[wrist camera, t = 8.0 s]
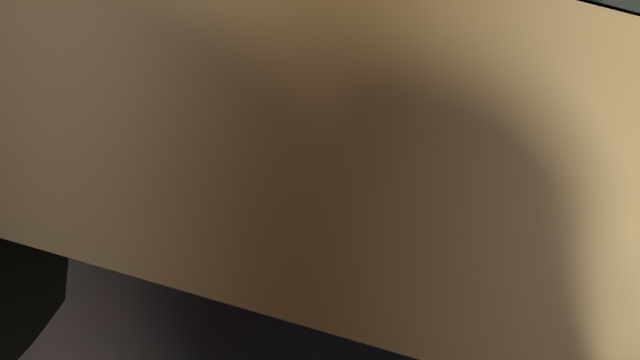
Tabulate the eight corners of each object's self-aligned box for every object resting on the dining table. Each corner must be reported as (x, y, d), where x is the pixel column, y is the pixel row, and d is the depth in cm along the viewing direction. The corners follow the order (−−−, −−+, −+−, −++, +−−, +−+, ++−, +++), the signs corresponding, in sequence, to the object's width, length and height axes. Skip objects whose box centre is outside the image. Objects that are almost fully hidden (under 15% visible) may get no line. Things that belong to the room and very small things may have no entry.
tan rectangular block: (836, 67, 9) (1259, 173, 5) (715, 275, 11) (942, 512, 6) (20, -141, 10) (-317, -227, 5) (13, 81, 12) (-254, 164, 7)
